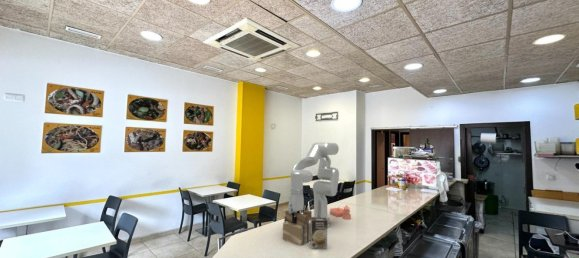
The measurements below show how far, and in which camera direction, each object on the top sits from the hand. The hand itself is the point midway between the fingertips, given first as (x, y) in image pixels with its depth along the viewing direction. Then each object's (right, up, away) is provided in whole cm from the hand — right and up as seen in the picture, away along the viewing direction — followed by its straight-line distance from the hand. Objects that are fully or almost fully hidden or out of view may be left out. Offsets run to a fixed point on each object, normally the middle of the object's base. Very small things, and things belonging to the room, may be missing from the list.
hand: (296, 221), depth 148 cm
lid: (+4, -2, +4) cm, 6 cm away
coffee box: (+12, -11, -10) cm, 19 cm away
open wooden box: (+3, -11, +4) cm, 12 cm away
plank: (0, -1, 0) cm, 1 cm away
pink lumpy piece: (+38, -14, +48) cm, 63 cm away
